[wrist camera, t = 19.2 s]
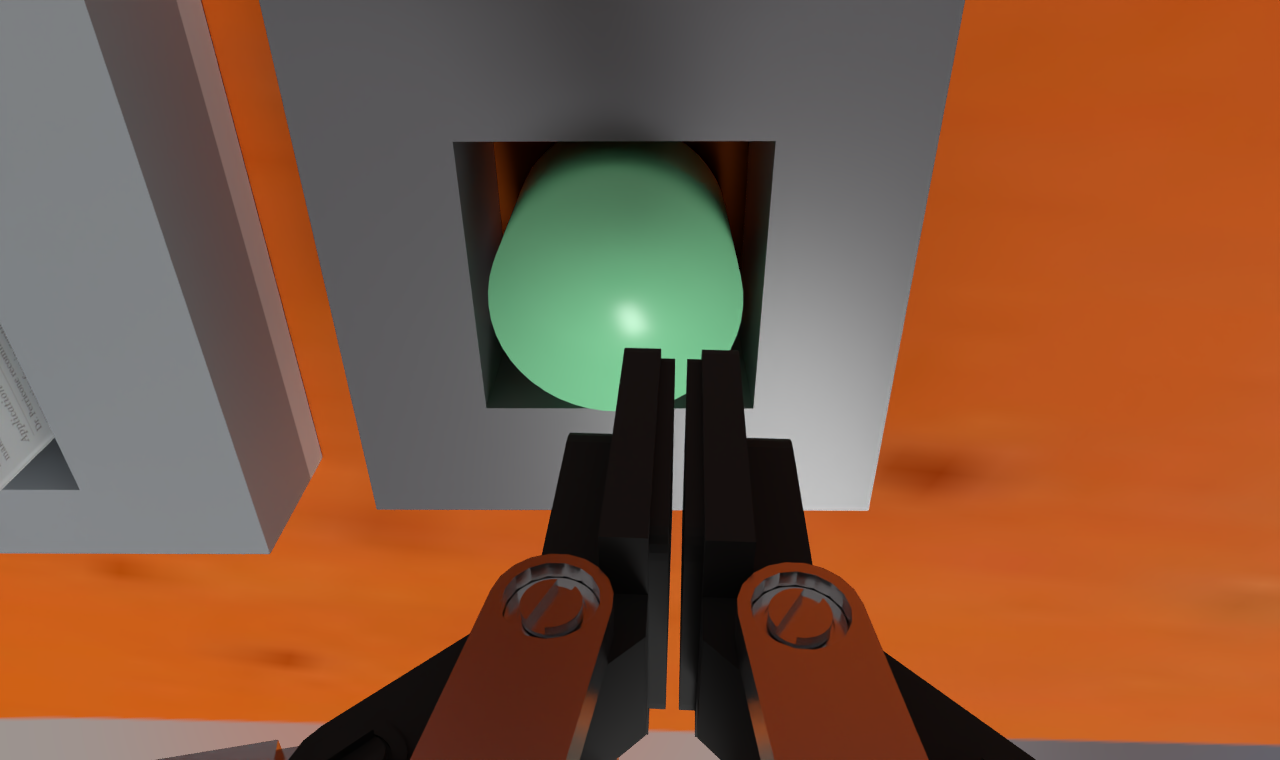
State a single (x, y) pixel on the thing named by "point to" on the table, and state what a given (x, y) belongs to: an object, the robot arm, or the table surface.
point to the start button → (614, 266)
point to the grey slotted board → (139, 292)
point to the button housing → (610, 111)
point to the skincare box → (18, 417)
